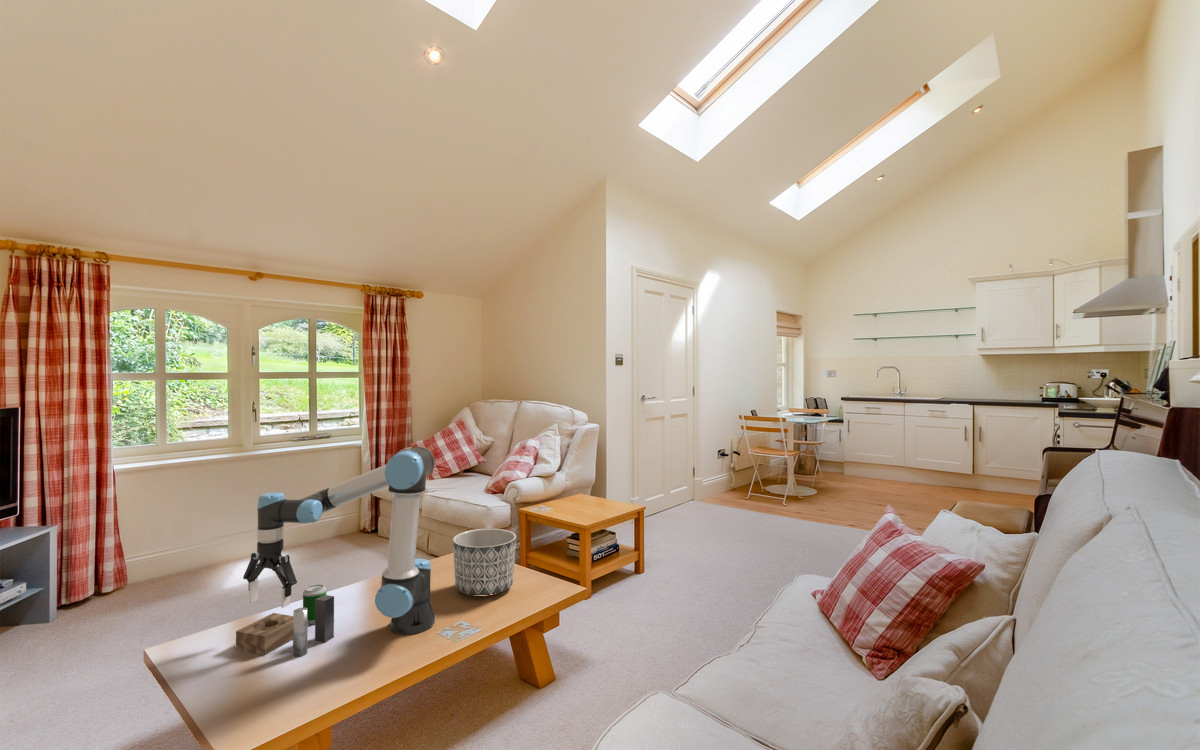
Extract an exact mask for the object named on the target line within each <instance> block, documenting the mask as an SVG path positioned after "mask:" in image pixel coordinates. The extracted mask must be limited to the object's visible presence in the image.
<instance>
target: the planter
mask: <svg viewBox="0 0 1200 750" xmlns="http://www.w3.org/2000/svg"><path fill="white" fill-rule="evenodd" d="M516 545H517V535H516V533H514V532H513V531H511V530H508V529H503V528H502V529H501V528H477V529H471V530H467V531H462V532H460V533H458V534H456V535H455V536H454V537H453V538H452V547H453V548H452V549H453V550H452V551H453V564H454V585H455V586H454V587H455V589H456V590H457V591H458V592H459V593H462V594H464V595H469V596H472V595H490V594H495V593H497V594H499V593H501V592H504V591H506V590H508V589H509V588H511V586H512V585H513V582H514V572H515V556H516ZM495 595H496V594H495Z"/></svg>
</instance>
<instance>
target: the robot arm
mask: <svg viewBox="0 0 1200 750" xmlns="http://www.w3.org/2000/svg"><path fill="white" fill-rule="evenodd" d="M435 465H436V460H435V456H434V454H433V452H431V451H430V450H429V449H428V448H426V447H423V446H415V447H411V448H409V449H406V450H401V451H399V452H397V453H396V454H395V455H393V456H392V457H390V459H389V460H388V461H387V463H386V464H383V465H382V466H378V467H377V468H374V469H372V470H369V471H367V472H365V473H361V474H359V475H356V476H354V477H352V478H350V479H347V480H344V481H342V482H340V483H337V484H334V485H333V486H330V487H327V488H325V489H322V490H319V491H317V492H315V493H313V494H310V495H308V496H306V497H303V498H300V499H287V498H286V499H285V494H284V493H283V492H279V491H277V492H266V493H263V494H261V495H259V497H258V502H257V533H256V540H257V542H256V543H257V544H256V551H254V552H252V553H251V554H250V560H249V562H248V564H247V568H246V569H245V571H244V574H243V577H242V579H243V580H247V582H248V592H249V593H248V594H249V595H248V596H249V597H248V601H249V602H248V603H253V602H255V601H257V600H259V576H260V575H261V573H262V572H263V570H265V569H269V570H272V571H273V572H274V573H275V574H276V577H278V579H279V581H280V582H281V584H282V587H281V589H280V590H281V592H280V593H281V595H280V597H281V599H280V600H281V601H280V607H281V608H282V609H283V608H285V607H287V606H290V605H291V596H292V586H294V585H296V584H297V583H298V580H297V577H296V575H295V572H294V569H293V567H292V563H291V560H290V555H289V554H287V555H282V551H283V550H284V531H285V529H284V525H285V523H289V524H290V523H291V524H292V523H293V524H296V523H297V524H310V523H311V524H312V523H316V522H318V521H319V519H320V518H321V517H322V514H324V513H326V512H328V511H331V510H332V509H336V508H338V507H340V506H343V505H345V504H348V503H351V502H353V501H355V500H357V499H361V498H362V497H366V496H367V495H369V494H373V493H375V492H378V491H379V490H382V489H386V488H387V487H388V489H387V490H388V491H387V492H388V493H390V495H391V496H392V505H391V507H392V508H391V517H390V530H389V542H388V543H389V545H388V555H387V556H388V557H387V567H386V568H384V569H383V571H382V572H381V583H380V588H379V589H378V590H377V591H376V593H375V598H374V605H375V606H376V607H375V608H376V609H377V610H378V611H379V612H380V613H381V614H382V615H383V616H385V617H387V618H391V620H390V630H391V631H392V632H393V633H396V634H399V635H411V634H412V635H414V634H419V633H422V632H425V631H427V630H429V629H431V628H432V627H433V626H434V625H435V623H436V614H435V612H434V609H433V606H432V602H431V575H432V574H431V573H432V567H431V561H429V560H428V559H425V558H416V556H417V555H416V553H417V542H418V541H417V540H418V528H419V527H418V526H419V513H420V502H421V499H420V498H421V495H423V494H424V493H425V492H426V485H427V478H428V477H429V476H430V475H432V472H433V471H434V469H435ZM433 624H434V625H433ZM432 625H433V626H432ZM431 626H432V627H431ZM430 627H431V628H430Z"/></svg>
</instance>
